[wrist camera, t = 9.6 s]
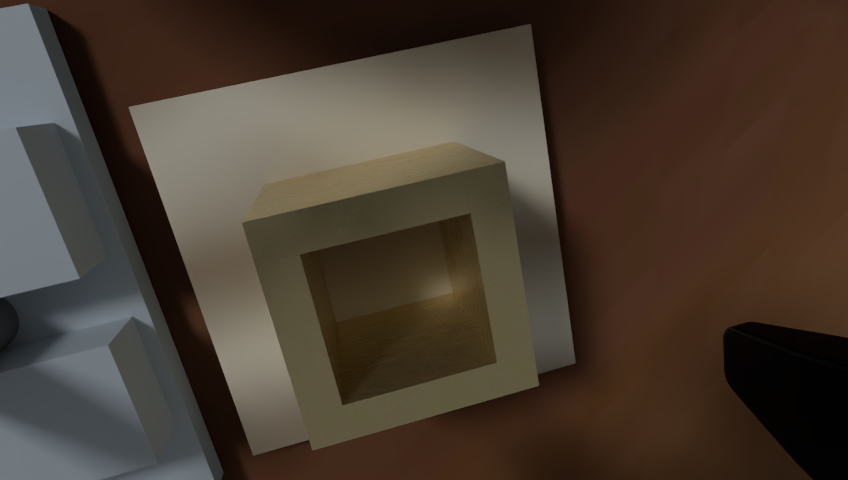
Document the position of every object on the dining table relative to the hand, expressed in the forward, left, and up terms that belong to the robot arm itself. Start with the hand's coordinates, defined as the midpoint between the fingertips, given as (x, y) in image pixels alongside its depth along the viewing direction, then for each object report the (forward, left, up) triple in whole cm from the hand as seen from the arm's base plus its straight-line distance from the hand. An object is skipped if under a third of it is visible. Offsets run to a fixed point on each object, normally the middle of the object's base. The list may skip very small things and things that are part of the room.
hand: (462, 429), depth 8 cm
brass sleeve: (0, 0, -10) cm, 10 cm away
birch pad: (0, 0, -11) cm, 11 cm away
